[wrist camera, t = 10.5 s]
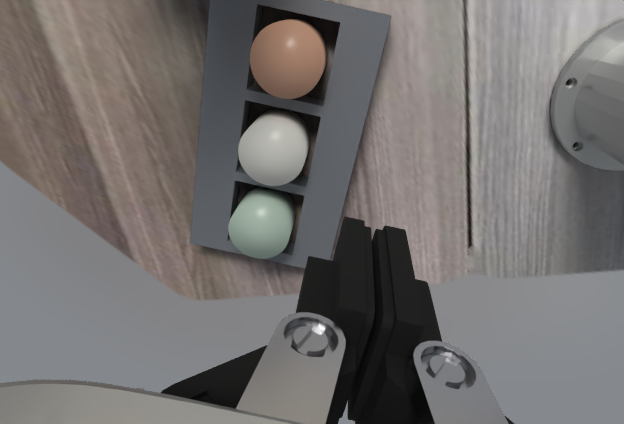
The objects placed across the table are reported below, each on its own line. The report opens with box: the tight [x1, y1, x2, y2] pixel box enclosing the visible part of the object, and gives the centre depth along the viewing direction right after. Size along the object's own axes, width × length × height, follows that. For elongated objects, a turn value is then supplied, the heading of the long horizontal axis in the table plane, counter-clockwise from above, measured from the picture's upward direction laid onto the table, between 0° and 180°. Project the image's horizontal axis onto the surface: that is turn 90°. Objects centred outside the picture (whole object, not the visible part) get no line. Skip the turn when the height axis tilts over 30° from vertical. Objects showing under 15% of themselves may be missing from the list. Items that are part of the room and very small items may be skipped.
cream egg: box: [238, 109, 310, 186], centre depth 38 cm, size 6×6×4 cm
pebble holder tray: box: [190, 0, 391, 268], centre depth 40 cm, size 14×24×2 cm, turn 169°
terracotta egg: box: [250, 19, 328, 99], centre depth 35 cm, size 6×6×4 cm
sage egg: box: [228, 186, 296, 259], centre depth 41 cm, size 6×6×4 cm
